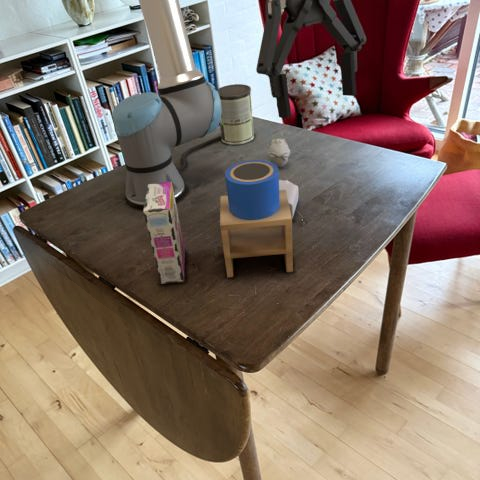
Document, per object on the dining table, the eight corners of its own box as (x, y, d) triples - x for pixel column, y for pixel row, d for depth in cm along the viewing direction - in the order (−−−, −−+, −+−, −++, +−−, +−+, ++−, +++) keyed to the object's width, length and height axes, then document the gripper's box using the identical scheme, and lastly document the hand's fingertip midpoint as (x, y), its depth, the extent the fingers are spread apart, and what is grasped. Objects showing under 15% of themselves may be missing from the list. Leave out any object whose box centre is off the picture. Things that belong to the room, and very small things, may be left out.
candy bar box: (186, 282, 91) (169, 208, 80) (161, 285, 91) (141, 212, 80) (186, 250, 99) (172, 180, 88) (163, 253, 99) (146, 183, 88)
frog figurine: (290, 159, 128) (289, 134, 123) (290, 170, 123) (290, 144, 118) (268, 160, 128) (267, 135, 124) (267, 172, 123) (266, 146, 118)
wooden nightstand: (227, 246, 99) (220, 195, 91) (287, 240, 98) (285, 189, 90) (227, 277, 91) (220, 225, 83) (292, 271, 90) (291, 218, 82)
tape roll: (229, 196, 90) (224, 162, 85) (277, 192, 90) (276, 157, 85) (229, 222, 83) (224, 186, 78) (282, 217, 83) (280, 180, 78)
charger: (302, 189, 114) (292, 221, 104) (266, 188, 116) (253, 219, 106) (302, 171, 111) (292, 202, 101) (265, 171, 113) (251, 201, 103)
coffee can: (214, 139, 143) (208, 91, 133) (239, 129, 147) (235, 81, 138) (235, 147, 137) (230, 98, 127) (261, 136, 141) (258, 87, 132)
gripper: (241, -38, 60) (268, 129, 72) (386, -70, 68) (389, 86, 79) (216, -28, 66) (245, 125, 78) (352, -59, 73) (360, 85, 85)
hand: (318, 106), depth 79 cm, fingers open, 13 cm apart
